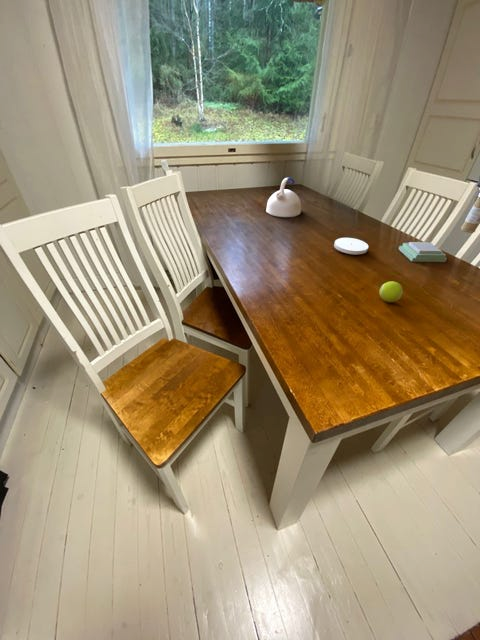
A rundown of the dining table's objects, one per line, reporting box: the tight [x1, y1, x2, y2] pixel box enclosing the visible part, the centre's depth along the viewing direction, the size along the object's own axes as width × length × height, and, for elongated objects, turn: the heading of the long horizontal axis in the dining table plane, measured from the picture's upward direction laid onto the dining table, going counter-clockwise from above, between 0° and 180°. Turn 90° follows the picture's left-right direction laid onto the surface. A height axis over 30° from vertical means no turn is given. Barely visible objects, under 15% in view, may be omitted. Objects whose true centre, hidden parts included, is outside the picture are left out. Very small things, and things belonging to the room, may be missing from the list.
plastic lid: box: [333, 237, 369, 255], centre depth 119 cm, size 14×14×2 cm
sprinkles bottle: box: [460, 192, 480, 234], centre depth 94 cm, size 5×5×14 cm
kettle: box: [265, 176, 302, 218], centre depth 153 cm, size 20×21×18 cm
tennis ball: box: [378, 280, 404, 303], centre depth 88 cm, size 7×7×7 cm
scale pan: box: [408, 241, 443, 254], centre depth 114 cm, size 9×9×2 cm
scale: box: [398, 242, 448, 263], centre depth 115 cm, size 14×12×3 cm
